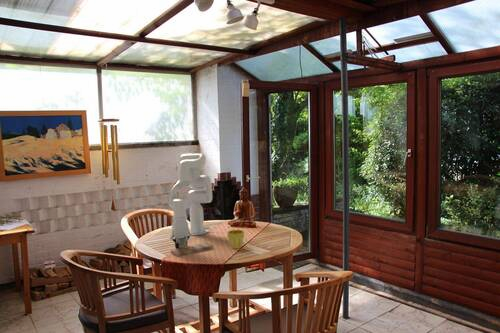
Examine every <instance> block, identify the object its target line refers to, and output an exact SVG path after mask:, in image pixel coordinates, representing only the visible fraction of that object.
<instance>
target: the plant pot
mask: <svg viewBox="0 0 500 333" xmlns="http://www.w3.org/2000/svg"><path fill="white" fill-rule="evenodd" d="M227 238H228V240H229V244H230V248H231V249H240V248H242V246H243V241H244V238H245V231H244V230H242V229H232V230H229V231H227Z"/></svg>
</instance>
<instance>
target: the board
mask: <svg viewBox="0 0 500 333" xmlns="http://www.w3.org/2000/svg"><path fill="white" fill-rule="evenodd" d="M189 246H190V247H191V249H186V248H184V247H182V248H178V249H176V248H174V249H171V250H170V254H172V255H174V256H176V257H182V256H186V255H190V254H195V253H200V252H205V251H208V250H213V249H214V245H213V244H210V243H209V242H203V243H202V242H201V243H197V244H193V245H189Z"/></svg>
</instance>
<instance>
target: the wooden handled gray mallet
mask: <svg viewBox="0 0 500 333" xmlns="http://www.w3.org/2000/svg"><path fill="white" fill-rule="evenodd" d="M178 243H179V248H182V247H184V248H186V249H191V247H190V246H191V245H188V244H187V245H186V238H184V237H181V238H179V239H178Z"/></svg>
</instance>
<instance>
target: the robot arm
mask: <svg viewBox="0 0 500 333" xmlns="http://www.w3.org/2000/svg"><path fill="white" fill-rule="evenodd" d="M206 159H207V158H206V154H204V153H183V154H181V155H180V158H179V160H180V163H179V172H178V181H177V182H176V183H175V184H174V185H173V186H172V188H171V190H170V193H169V197H168V205H169V208H171V209H172V210H173V212H172V213H173V221H172V223H171V235H170V236H169V239H170V240H171V241H173V242H174V247H175V248H174V249H178V248H179V243H178V239H179V238H182V237H184V238H186V245H188V241H189V239H190V238H191V236H200V235H205V234H206V233H207V231H206V230H210V226H209V225H208V226H205V224H204V223H205V222H204V209H203V206H202V205H201V204H208V203H209V204H210V203H212V202H213V190H212V189H213V188H212V181H211V180H212V179H211V176H210V175H208V174H201V173H200V172H201V171H202V170H203V168H204V167H205V164H206V162H207V160H206ZM186 187H189V188H190V189H191V190H189V191H188V193H187V196H176V195H177V193H178V192H179V191H180V190H182V189H184V188H186ZM187 209H189V216H188V215H187ZM188 218H189V220H190V221H189V222H190V223H188V220H187V219H188ZM189 224H190V226H189ZM189 227H190V228H189Z"/></svg>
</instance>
